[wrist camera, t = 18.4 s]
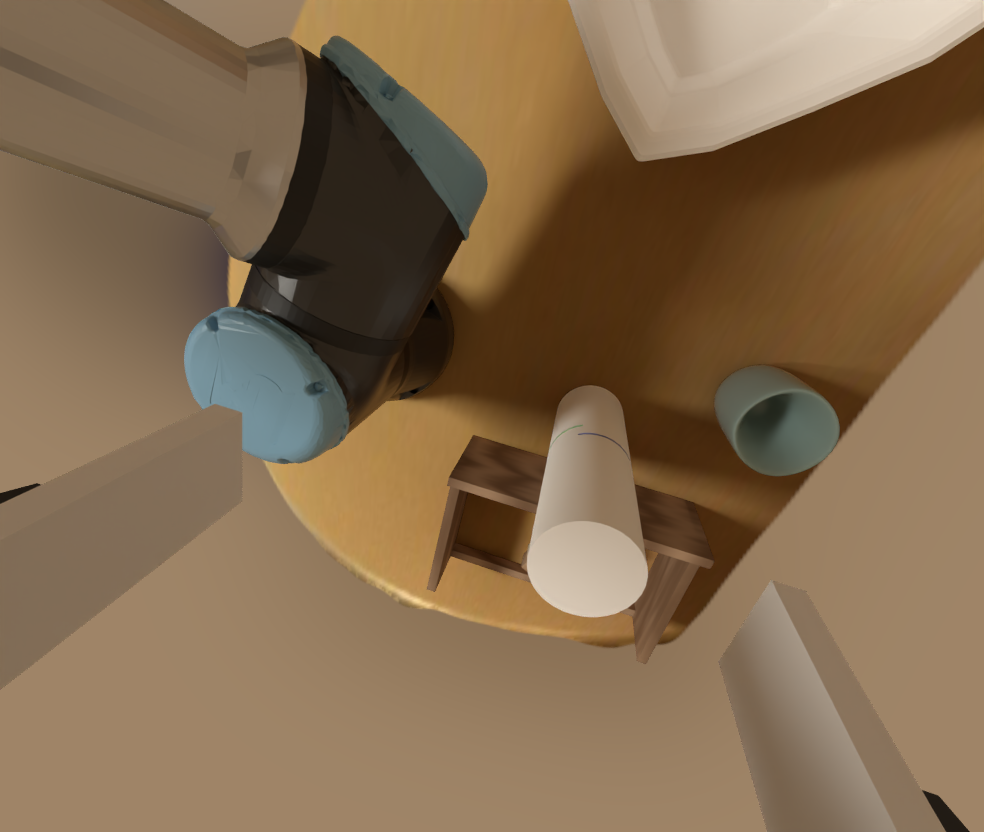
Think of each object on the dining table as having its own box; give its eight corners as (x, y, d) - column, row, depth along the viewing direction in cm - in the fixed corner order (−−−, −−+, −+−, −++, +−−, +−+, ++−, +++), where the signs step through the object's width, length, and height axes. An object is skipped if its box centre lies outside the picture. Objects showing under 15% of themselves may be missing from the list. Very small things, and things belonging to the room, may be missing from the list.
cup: (691, 383, 47) (714, 421, 38) (767, 340, 44) (812, 369, 35) (729, 442, 48) (761, 492, 39) (806, 404, 45) (859, 448, 36)
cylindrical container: (621, 447, 51) (643, 623, 28) (556, 444, 52) (528, 610, 30) (625, 385, 48) (652, 525, 26) (556, 385, 50) (525, 516, 27)
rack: (446, 546, 61) (421, 601, 52) (473, 435, 54) (449, 477, 45) (639, 610, 59) (647, 680, 50) (693, 502, 52) (714, 561, 43)
